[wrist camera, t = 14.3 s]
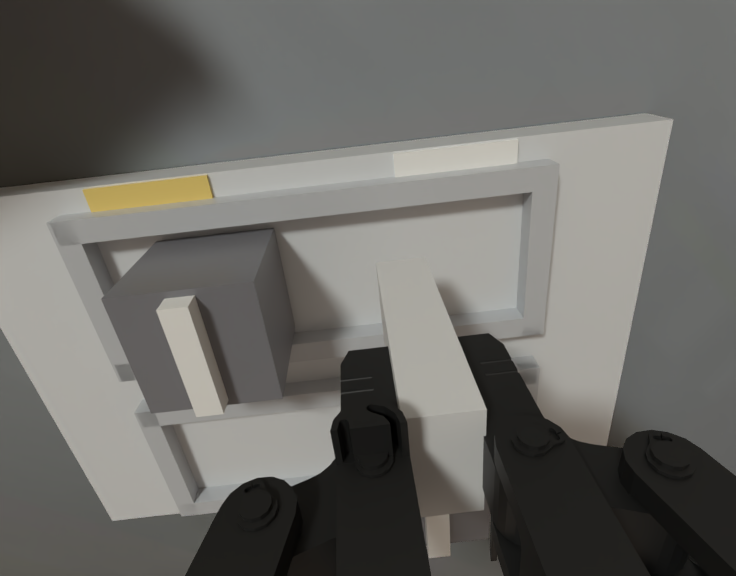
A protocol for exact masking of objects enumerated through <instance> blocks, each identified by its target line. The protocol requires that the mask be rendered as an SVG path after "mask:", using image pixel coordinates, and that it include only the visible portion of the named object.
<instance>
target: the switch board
mask: <svg viewBox="0 0 736 576" xmlns="http://www.w3.org/2000/svg"><path fill="white" fill-rule="evenodd" d="M672 123H673V119H670V118H665V117H661V116H656V115H652V114H647V113H643V114H634V115H626V116H617V117H608V118H600V119H591V120H582V121H574V122H565V123H556V124H548V125H539V126H531V127H522V128H513V129H505V130H496V131H487V132H479V133H470V134H461V135H453V136H444V137H435V138H427V139H418V140H409V141H401V142H392V143H384V144H375V145H366V146H358V147H349V148H340V149H332V150H323V151H314V152H306V153H297V154H288V155H280V156H271V157H262V158H254V159H245V160H236V161H228V162H219V163H211V164H202V165H193V166H185V167H176V168H167V169H159V170H150V171H141V172H133V173H124V174H115V175H107V176H98V177H89V178H81V179H72V180H63V181H55V182H46V183H38V184H29V185H20V186H12V187H3V188H0V328H1V329H2V331H3V333H4V335H5V336H6V338H7V340H8V342H9V343H10V345H11V347H12V348H13V350H14V352H15V354H16V355H17V357H18V359H19V361H20V362H21V364H22V366H23V367H24V369H25V371H26V373H27V374H28V376H29V378H30V380H31V381H32V383H33V385H34V386H35V388H36V390H37V392H38V393H39V395H40V397H41V398H42V400H43V402H44V404H45V405H46V407H47V409H48V411H49V412H50V414H51V416H52V417H53V419H54V421H55V423H56V424H57V426H58V428H59V430H60V431H61V433H62V435H63V436H64V438H65V440H66V442H67V443H68V445H69V447H70V449H71V450H72V452H73V454H74V455H75V457H76V459H77V461H78V462H79V464H80V466H81V467H82V469H83V471H84V473H85V474H86V476H87V478H88V480H89V481H90V483H91V485H92V486H93V488H94V490H95V492H96V493H97V495H98V497H99V499H100V500H101V502H102V504H103V505H104V507H105V509H106V511H107V512H108V514H109V516H110V518H111V519H112V521H115V520H124V519H133V518H142V517H151V516H159V515H168V514H177V513H180V514H181V516H190V515H199V514H208V513H216V512H218V511H219V509H220V507H221V505H222V504H223V502H224V501H225V500H226V498H227V497H228V496H229V494H230V493H231V492H233V491H234V490H235V489H237V488H238V487H239V486H240V485H242V484H243V483H246V482H248V481H251V480H253V479H256V478H260V477H275V478H279V479H282V480H285V481H286V482H287V483H288V484H289V485H290V486H293V485H296V484H298V483H300V482H303V481H305V480H308V479H310V478H312V477H314V476H316V475H318V474H319V473H321V472H322V471H324V470H325V469H326V468H327V467H328V466H329V465H330V464H331V463H332V462H333V460H334V459H335V454H334V449H333V444H332V439H331V434H330V429H331V426H332V422H333V420H334V418H335V417H336V416H337V415H338V414H339V412H340V411H341V368H340V365H341V363H342V361H343V360H344V358H345V356H346V355H347V353H348V351H352V350H360V349H369V348H377V347H385V343H384V337H383V327H382V318H381V308H380V299H379V289H378V279H377V270H376V263H377V262H386V261H394V260H403V259H411V258H420V257H425V258H426V261H427V263H428V266H429V268H430V271H431V273H432V276H433V278H434V281H435V283H436V286H437V288H438V291H439V293H440V295H441V298H442V300H443V303H444V305H445V308H446V310H447V313H448V315H449V318H450V320H451V323H452V325H453V327H454V330H455V332H456V335H457V337H460V336H468V335H477V334H485V333H489V334H491V335H492V336H493V337H495V338H496V339H497V340H499V341H500V342H501V343H503V344H504V346H505V348H506V350H507V351H508V353H509V355H510V357H511V360H512V361H513V362H514V364H515V366H516V368H517V370H518V373H520V375H521V377H522V379H523V380H524V382H525V384H526V386H527V388H528V389H529V391H530V393H531V395H532V397H533V399H534V400H535V402H536V404H537V406H538V408H539V409H540V411H541V413H542V415H543V416H544V418H545V419H548V420H550V421H551V422H553V423H555V424H556V425H558V426H560V427H561V428H562V429H563V430H564V431H565V433H566V434H567V435H568V436H569V437H570V438H572V439H574V440H577V441H580V442H585V443H589V444H595V445H602V446H607V441H608V437H609V432H610V427H611V422H612V417H613V412H614V407H615V402H616V397H617V392H618V388H619V383H620V378H621V373H622V368H623V363H624V358H625V353H626V348H627V344H628V339H629V334H630V329H631V324H632V319H633V314H634V309H635V304H636V299H637V295H638V290H639V285H640V280H641V275H642V270H643V265H644V260H645V255H646V251H647V246H648V241H649V236H650V231H651V226H652V221H653V216H654V211H655V206H656V202H657V197H658V192H659V187H660V182H661V177H662V172H663V167H664V162H665V158H666V153H667V148H668V143H669V138H670V133H671V128H672ZM265 228H274V229H275V234H276V239H277V243H278V248H279V253H280V258H281V262H282V267H283V272H284V276H285V281H286V286H287V290H288V295H289V300H290V305H291V309H292V314H293V319H294V323H295V331H294V337H293V343H292V348H291V354H290V360H289V366H288V372H287V378H286V384H285V390H284V396H283V399H277V400H268V401H260V402H251V403H242V404H233V405H227V406H226V409H225V412H224V414H220V415H211V416H202V417H196V415H195V412H194V410H193V409H189V410H180V411H171V412H162V413H153V414H151V412H150V410H149V407H148V405H147V403H146V401H145V398H144V396H143V394H142V391H141V389H140V387H139V385H138V382H137V380H136V378H135V376H134V373H133V371H132V369H131V366H130V364H129V362H128V360H127V357H126V355H125V353H124V350H123V348H122V346H121V344H120V341H119V339H118V337H117V335H116V332H115V330H114V328H113V325H112V323H111V321H110V319H109V316H108V314H107V312H106V309H105V307H104V305H103V303H102V300H101V298H102V297H103V296H104V295H105V294H106V293H107V292H108V291H109V290H110V289H111V288H112V287H113V286H114V285H115V284H116V283H117V282H118V281H119V280H120V279H121V278H122V277H123V275H124V274H125V273H126V272H127V271H128V270H129V269H130V268H131V267H132V266H133V265H134V264H135V263H136V262H137V261H138V260H139V259H140V258H141V257H142V256H143V255H144V254H145V253H146V252H147V250H148V249H149V248H150V247H151V246H152V245H153V244H154V243H155V242H156V241H161V240H170V239H178V238H187V237H196V236H204V235H213V234H222V233H231V232H239V231H248V230H257V229H265Z"/></svg>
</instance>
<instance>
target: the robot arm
mask: <svg viewBox="0 0 736 576" xmlns="http://www.w3.org/2000/svg"><path fill="white" fill-rule="evenodd" d="M376 270H377V279H378V289H379V299H380V308H381V318H382V327H383V337H384V343H385V347H377V348H369V349H360V350H352V351H348V353H347V355H346V356H345V358H344V360H343V361H342V363H341V365H340V368H341V411H340V412H339V414H338V415H337V416H336V417H335V418H334V420H333V422H332V426H331V429H330V434H331V439H332V444H333V449H334V454H335V459H334V460H333V462H332V463H331V464H330V465H329V466H328V467H327V468H326V469H325V470H324V471H322V472H321V473H319V474H318V475H316V476H314V477H312V478H310V479H308V480H305V481H303V482H300V483H298V484H296V485H293V486H290V485H289V484H288V483H287V482H286V481H285V480H282V479H279V478H275V477H260V478H256V479H253V480H251V481H248V482H246V483H243V484H242V485H240V486H239V487H238V488H237V489H235V490H234V491H233V492H231V493H230V494H229V496H228V497H227V498H226V500H225V501H224V502H223V504H222V505H221V507H220V509H219V511H218V513H217V515H216V516H215V518H214V520H213V522H212V524H211V526H210V528H209V530H208V532H207V534H206V536H205V538H204V540H203V542H202V544H201V546H200V548H199V550H198V552H197V554H196V555H195V557H194V559H193V561H192V563H191V565H190V567H189V569H188V571H187V573H186V575H185V576H431V572H430V566H429V561H428V555H427V549H426V543H425V538H424V532H423V526H422V521H421V517H429V516H437V515H446V514H455V513H463V512H472V511H480V510H484V494H485V498H486V501H487V504H488V507H489V510H490V513H491V533H490V556H491V561H497V555H498V559H499V562H500V565H501V568H502V572H503V575H504V576H736V476H735V475H733V474H732V473H731V472H730V471H728V470H727V469H726V468H725V467H723V466H722V465H721V464H720V463H718V462H717V461H716V460H715V459H713V458H712V457H711V456H710V455H708V454H707V453H706V452H705V451H703V450H702V449H701V448H699V447H698V446H696V445H695V444H693V443H691V442H690V441H688V440H687V439H685V438H682V437H679V436H677V435H674V434H671V433H668V432H662V431H655V430H647V431H641V432H636V433H634V434H633V435H631V436H630V437H628V438H627V439H626V441H625V444H624V446H623V448H616V447H609V446H602V445H595V444H589V443H585V442H580V441H577V440H574V439H572V438H570V437H569V436H568V435H567V434H566V433H565V431H564V430H563V429H562V428H561V427H560V426H558V425H556V424H555V423H553V422H551V421H550V420H548V419H545V418H544V416H543V415H542V413H541V411H540V409H539V408H538V406H537V404H536V402H535V400H534V399H533V397H532V395H531V393H530V391H529V389H528V388H527V386H526V384H525V382H524V380H523V379H522V377H521V375H520V373H518V370H517V368H516V366H515V364H514V362H513V361H512V360H511V357H510V355H509V353H508V351H507V350H506V348H505V346H504V344H503V343H501V342H500V341H499V340H497V339H496V338H495V337H493V336H492V335H491V334H489V333H485V334H477V335H468V336H460V337H457V335H456V332H455V330H454V327H453V325H452V323H451V320H450V318H449V315H448V313H447V310H446V308H445V305H444V303H443V300H442V298H441V295H440V293H439V291H438V288H437V286H436V283H435V281H434V278H433V276H432V273H431V271H430V268H429V266H428V263H427V261H426V258H425V257H420V258H411V259H403V260H394V261H386V262H377V263H376Z"/></svg>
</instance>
